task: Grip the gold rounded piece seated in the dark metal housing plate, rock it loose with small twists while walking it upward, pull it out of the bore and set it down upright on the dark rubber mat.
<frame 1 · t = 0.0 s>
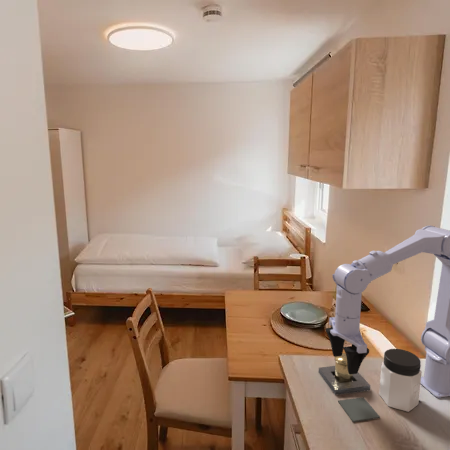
hand: (344, 364, 85), 10 cm above the table, fingers open, 7 cm apart
mat: (358, 409, 84), on the table
gold rounded piece: (343, 369, 94), in the housing
jar: (398, 400, 87), on the table
housing: (343, 381, 95), on the table
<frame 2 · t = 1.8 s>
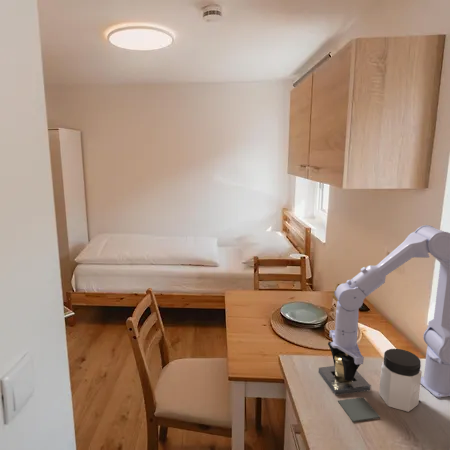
hand: (343, 373, 94), 2 cm above the table, fingers closed on gold rounded piece, 5 cm apart
gold rounded piece: (343, 369, 94), in the housing, touching gripper
everything else where it was.
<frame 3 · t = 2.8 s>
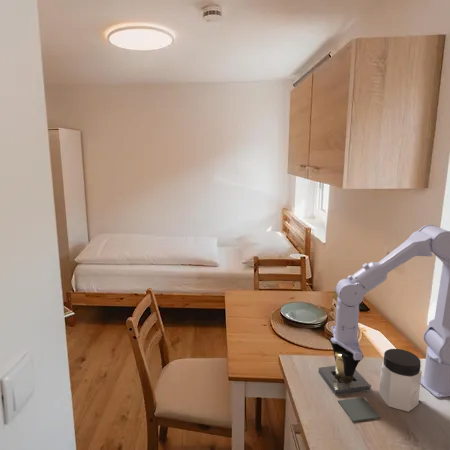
hand: (344, 369, 94), 4 cm above the table, fingers closed on gold rounded piece, 5 cm apart
gold rounded piece: (344, 365, 94), point 5 cm above the table, touching gripper
everything else where it was.
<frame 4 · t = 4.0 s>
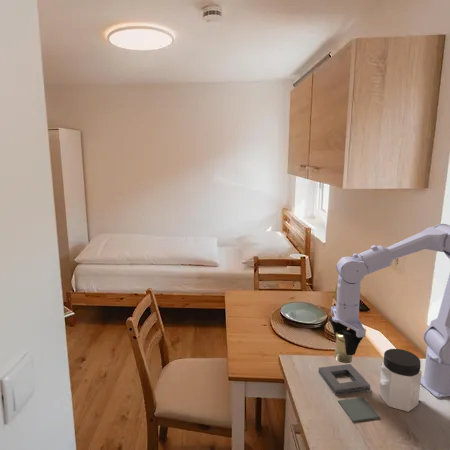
hand: (345, 348, 93), 10 cm above the table, fingers closed on gold rounded piece, 5 cm apart
gold rounded piece: (344, 346, 93), point 10 cm above the table, touching gripper
everything else where it was.
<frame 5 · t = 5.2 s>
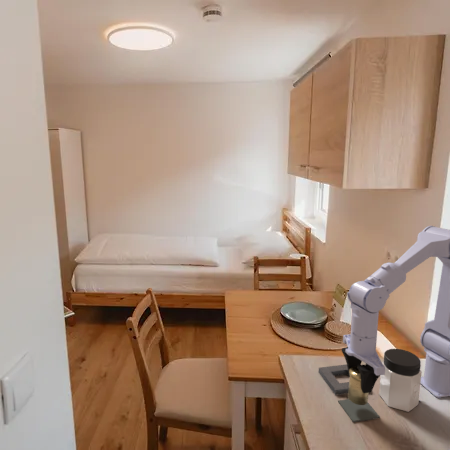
hand: (360, 384, 82), 7 cm above the table, fingers closed on gold rounded piece, 5 cm apart
gold rounded piece: (359, 385, 82), point 7 cm above the table, touching gripper
everything else where it was.
when the fingers open (4 cm above the table, at t = 6.2 s): gold rounded piece stays where it is, resting on mat.
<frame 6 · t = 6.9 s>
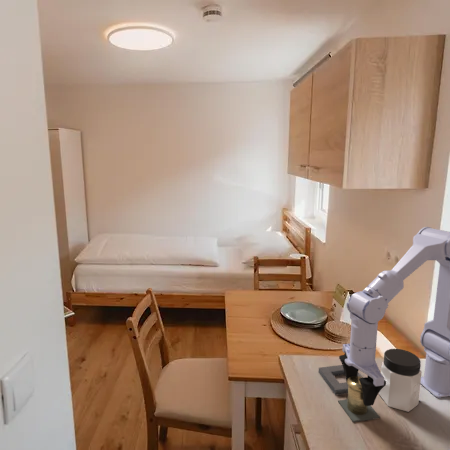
hand: (359, 393, 83), 4 cm above the table, fingers open, 7 cm apart
gold rounded piece: (357, 395, 83), on the mat
everything else where it was.
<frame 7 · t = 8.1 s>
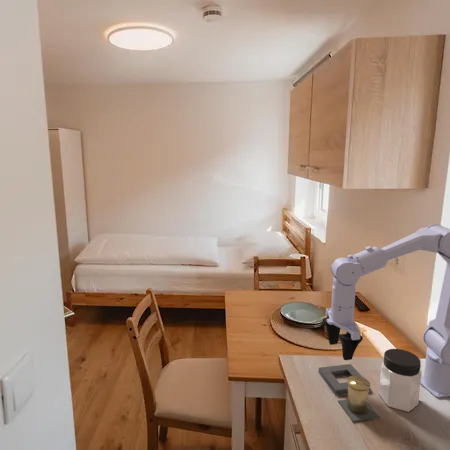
hand: (340, 351, 92), 10 cm above the table, fingers open, 7 cm apart
nothing on the table moved.
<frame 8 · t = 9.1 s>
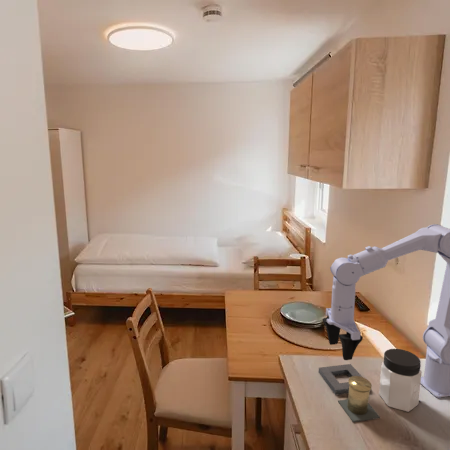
hand: (340, 351, 92), 10 cm above the table, fingers open, 7 cm apart
nothing on the table moved.
at the end: gold rounded piece inside the target area on the mat (0.3 cm from its centre), point 4.0 cm above the mat's base; gold rounded piece tilted 2°; the gripper is holding nothing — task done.
